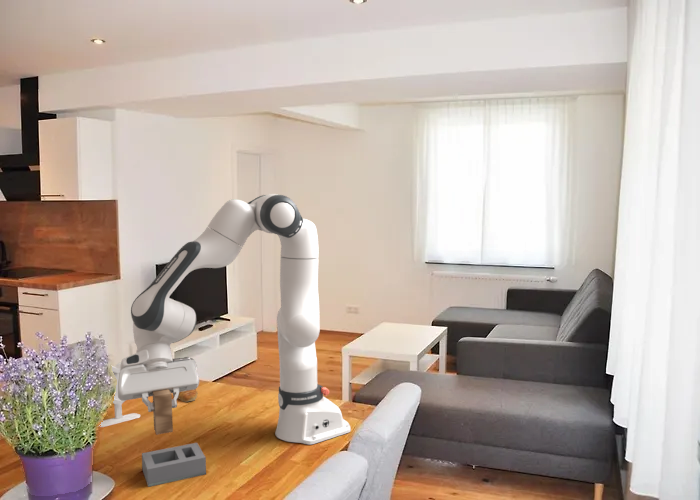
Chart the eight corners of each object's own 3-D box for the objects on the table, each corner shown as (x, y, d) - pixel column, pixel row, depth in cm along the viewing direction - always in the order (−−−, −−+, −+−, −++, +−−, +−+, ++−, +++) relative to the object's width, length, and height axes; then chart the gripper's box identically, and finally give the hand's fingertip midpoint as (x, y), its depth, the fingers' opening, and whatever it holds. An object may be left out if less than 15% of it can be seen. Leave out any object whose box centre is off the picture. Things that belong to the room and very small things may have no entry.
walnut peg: (170, 426, 155) (168, 388, 154) (172, 431, 151) (171, 393, 150) (154, 429, 153) (152, 391, 152) (156, 434, 150) (154, 396, 149)
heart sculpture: (95, 428, 182) (92, 371, 180) (90, 423, 186) (87, 367, 184) (145, 415, 192) (143, 361, 190) (139, 411, 196) (137, 358, 194)
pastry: (200, 401, 206) (200, 390, 205) (180, 404, 203) (180, 393, 202) (195, 393, 214) (194, 382, 214) (175, 396, 211) (175, 385, 211)
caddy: (197, 458, 162) (196, 442, 161) (206, 474, 153) (205, 457, 152) (142, 469, 155) (141, 453, 155) (148, 486, 146) (147, 469, 146)
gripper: (193, 361, 166) (202, 407, 158) (114, 372, 157) (120, 421, 149) (196, 350, 161) (205, 396, 154) (115, 360, 152) (121, 410, 145)
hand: (162, 408), depth 151 cm, fingers closed on walnut peg, 4 cm apart
